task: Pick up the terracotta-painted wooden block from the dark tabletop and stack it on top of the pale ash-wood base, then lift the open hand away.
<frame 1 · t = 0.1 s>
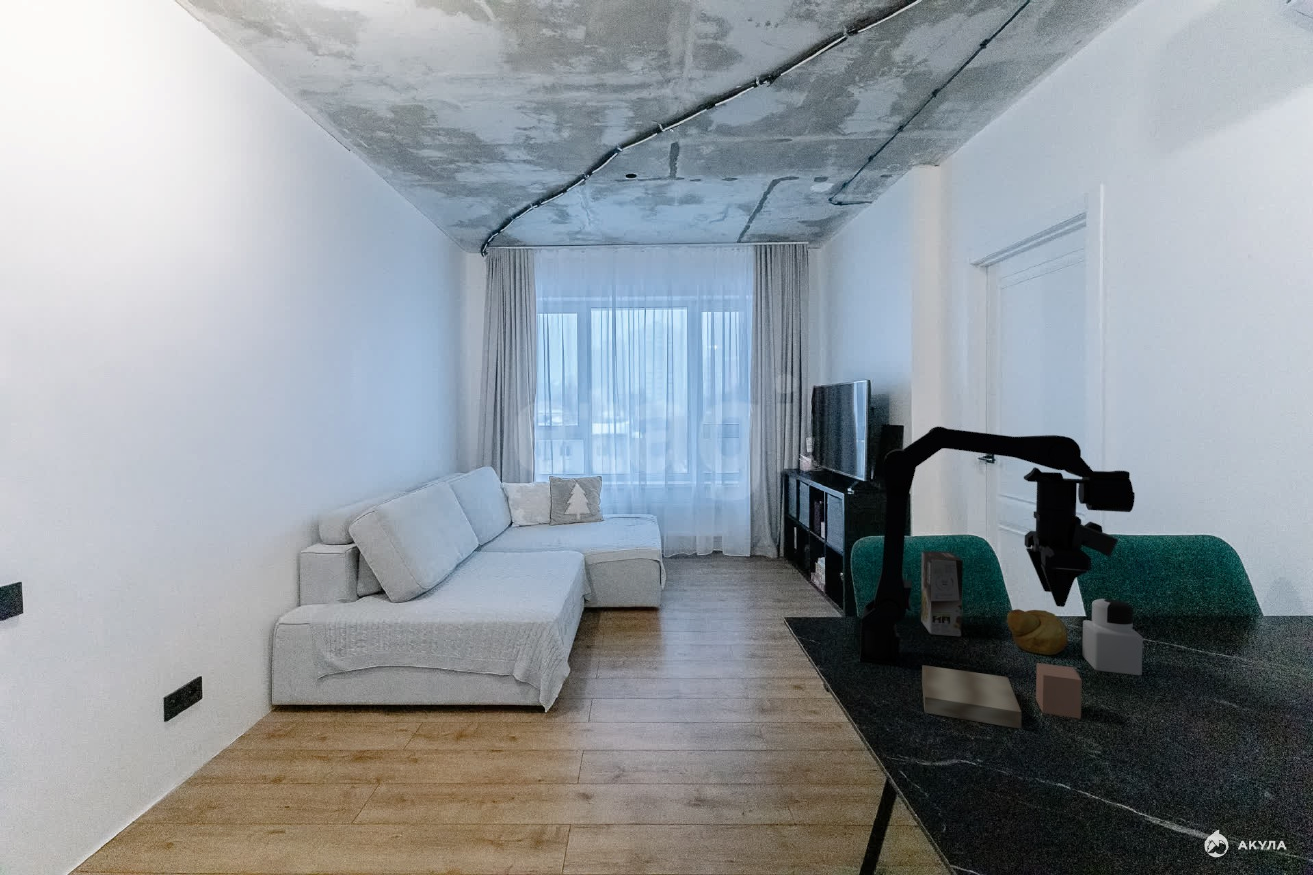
hand: (1053, 598, 105), 15 cm above the table, tool pointing down, fingers open, 9 cm apart
bread roll: (1040, 648, 122), on the table
terracotta block: (1057, 708, 96), on the table
medicine bottle: (1110, 666, 112), on the table
coffee box: (940, 629, 132), on the table
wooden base: (967, 701, 98), on the table
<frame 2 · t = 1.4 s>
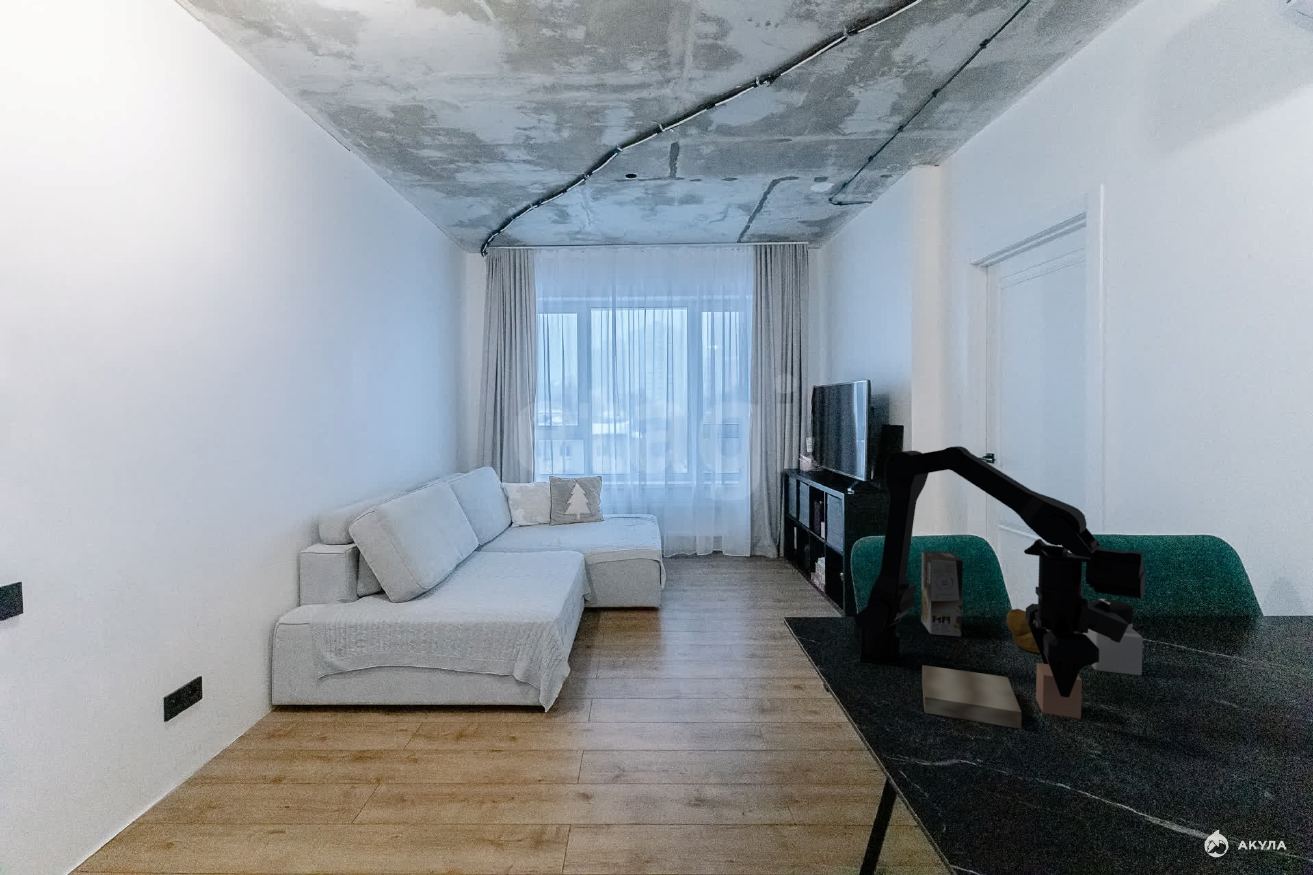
hand: (1057, 684, 96), 4 cm above the table, tool pointing down, fingers open, 9 cm apart
nothing on the table moved.
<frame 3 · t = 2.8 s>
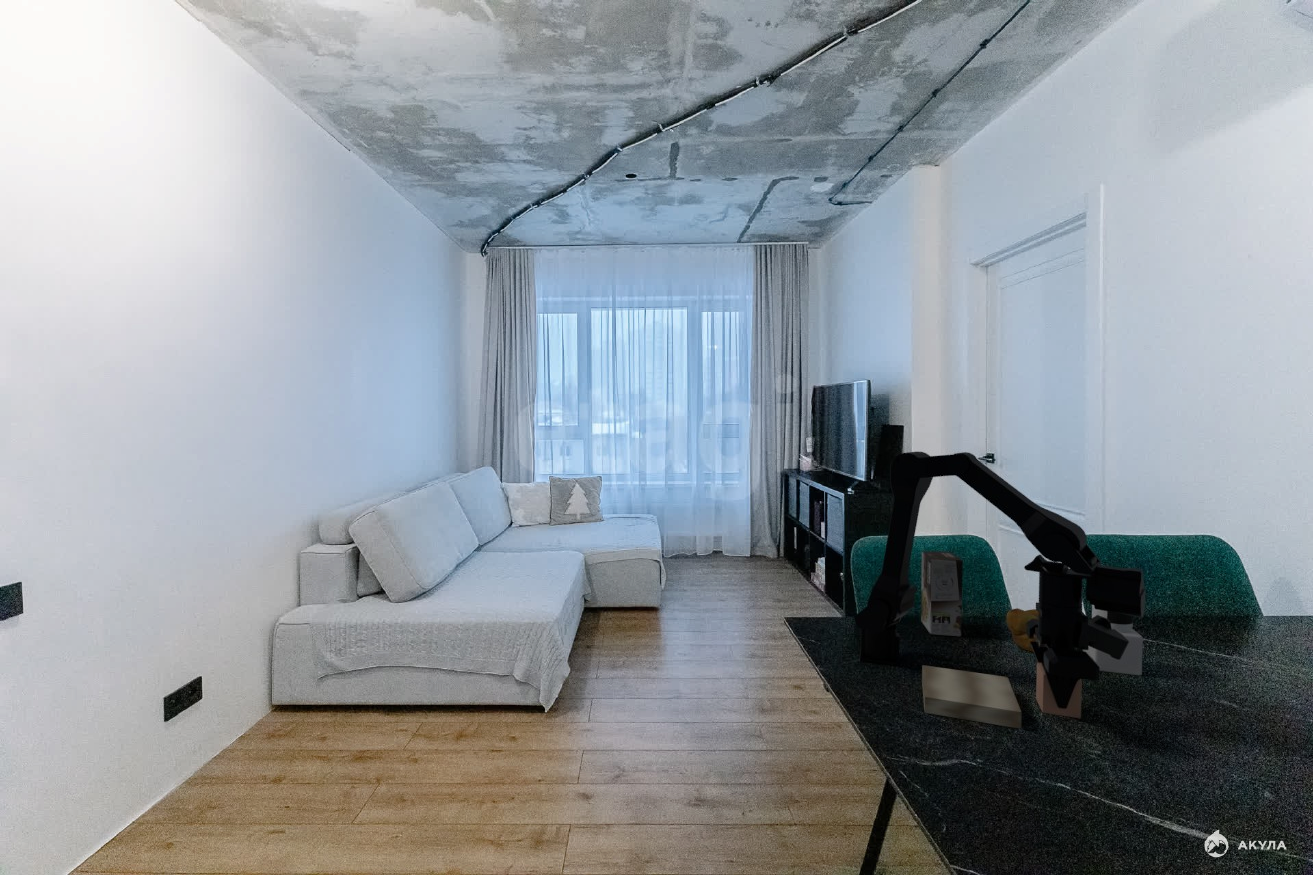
hand: (1057, 700, 96), 1 cm above the table, tool pointing down, fingers closed on terracotta block, 5 cm apart
terracotta block: (1057, 708, 96), on the table, touching gripper
everything else where it was.
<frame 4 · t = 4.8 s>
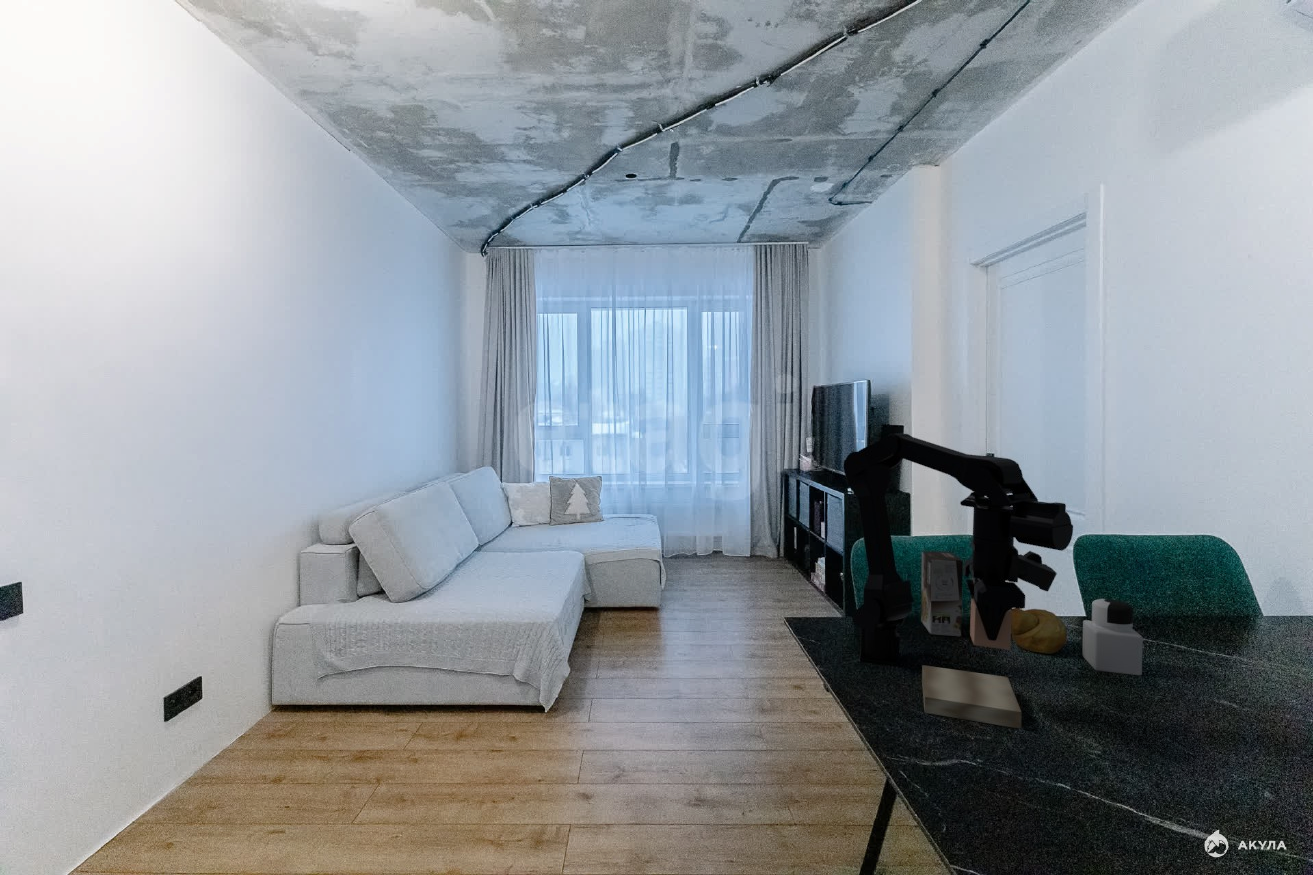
hand: (989, 634, 97), 11 cm above the table, tool pointing down, fingers closed on terracotta block, 5 cm apart
terracotta block: (989, 641, 97), point 10 cm above the table, touching gripper
everything else where it was.
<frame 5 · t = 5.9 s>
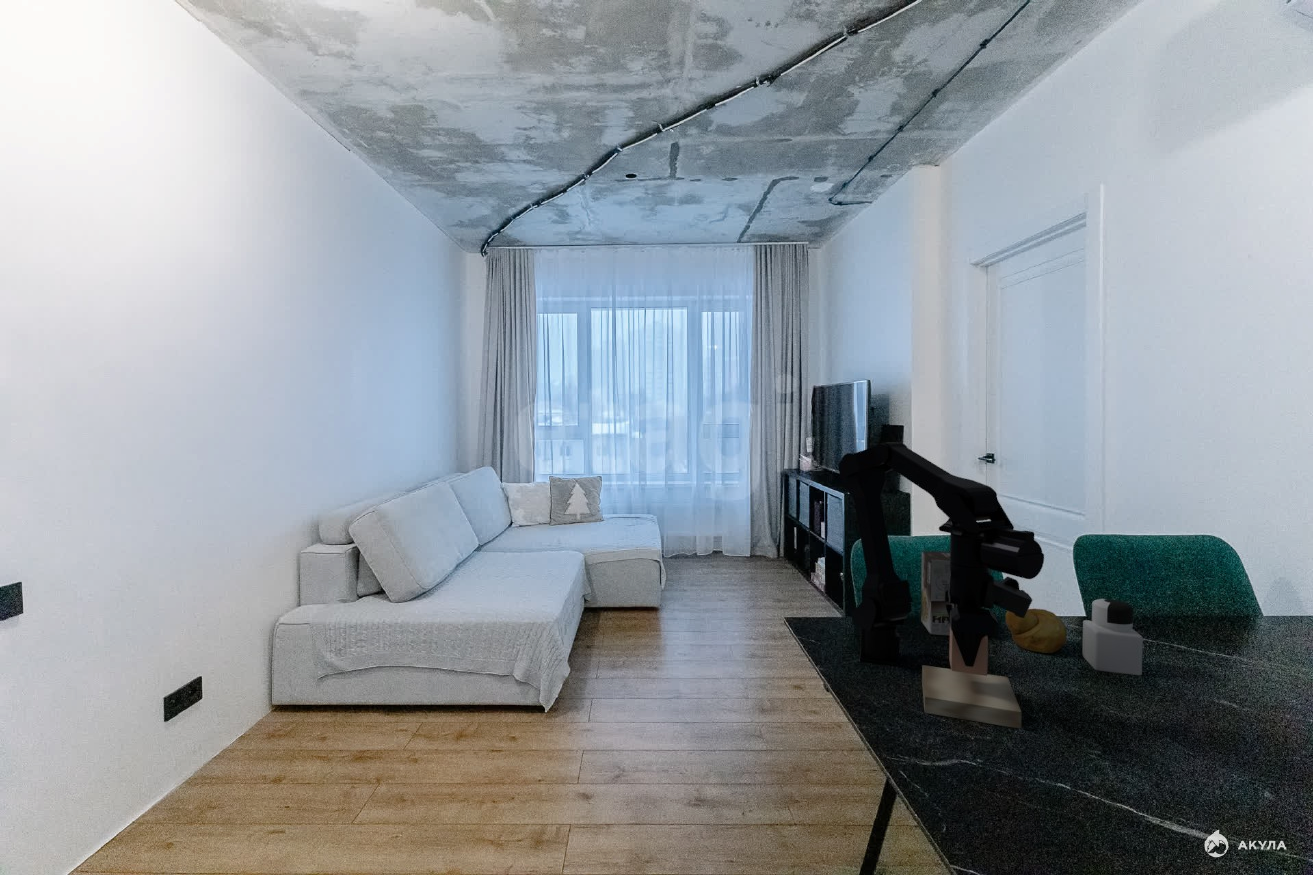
hand: (967, 659, 98), 7 cm above the table, tool pointing down, fingers closed on terracotta block, 5 cm apart
terracotta block: (967, 667, 98), point 6 cm above the table, touching gripper
everything else where it was.
when the fingers open (5 cm above the table, at t = 7.0 s): terracotta block drops 1 cm, resting on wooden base.
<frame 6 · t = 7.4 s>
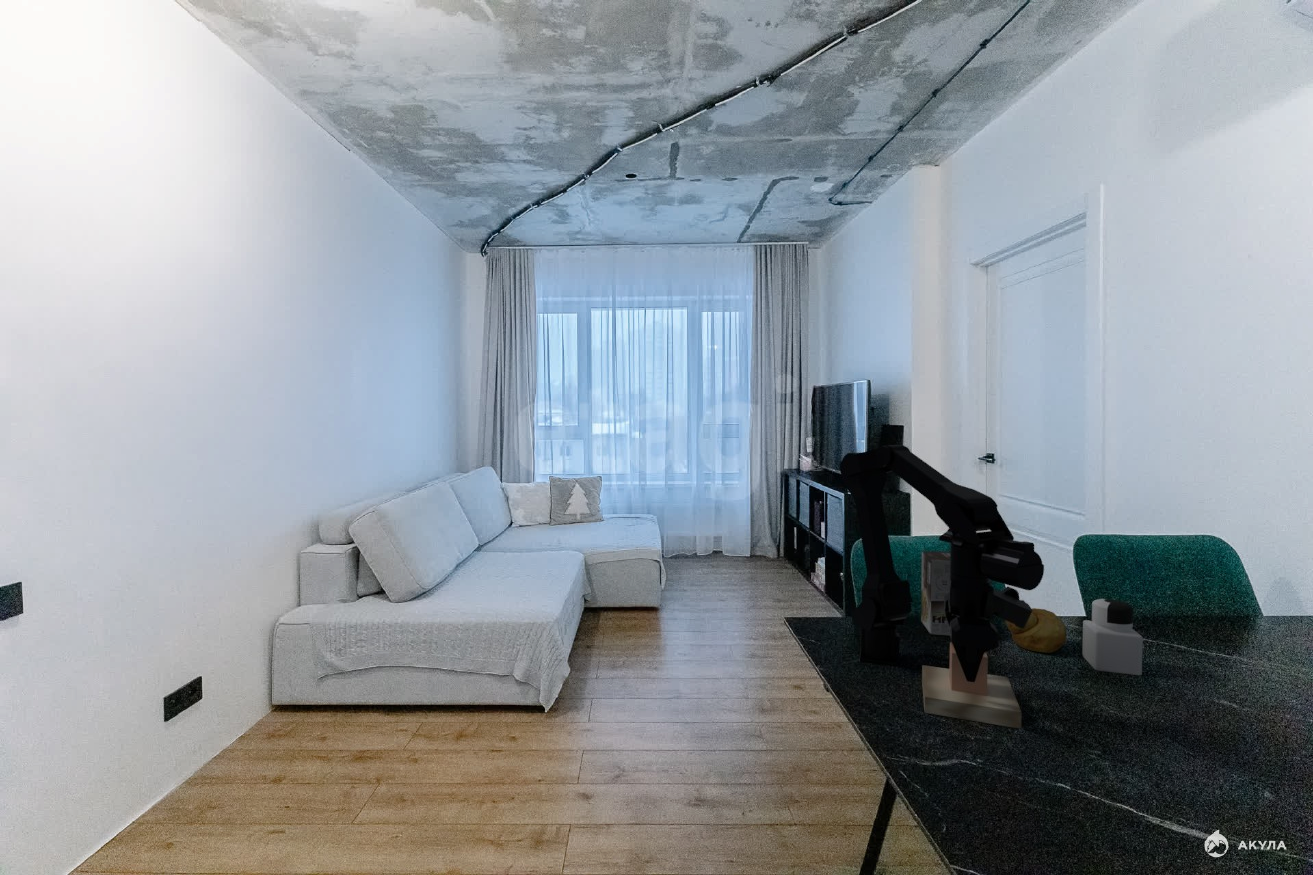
hand: (967, 669, 98), 5 cm above the table, tool pointing down, fingers open, 9 cm apart
terracotta block: (967, 686, 98), point 2 cm above the table, touching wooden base
everything else where it was.
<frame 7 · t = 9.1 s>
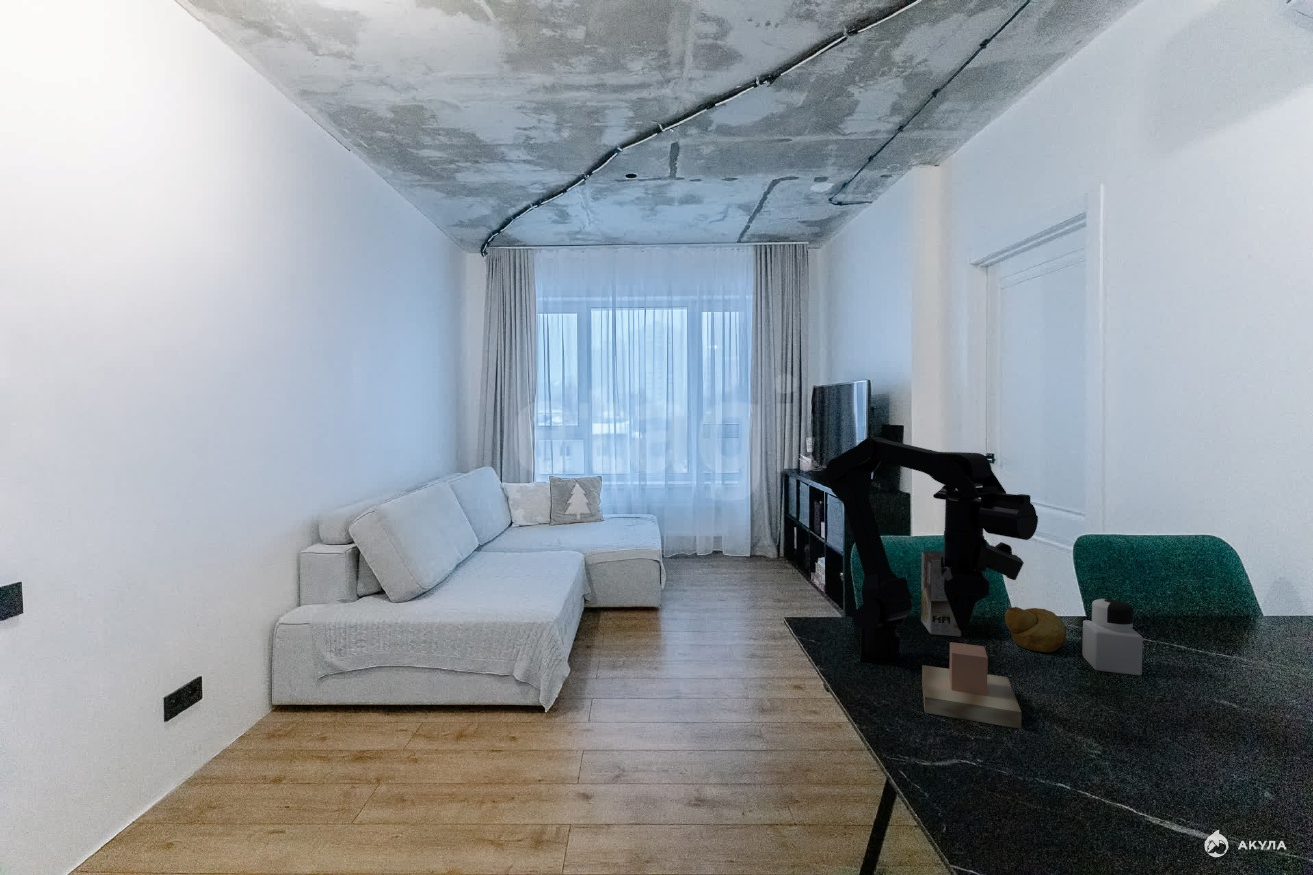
hand: (960, 621, 101), 12 cm above the table, tool pointing down, fingers open, 9 cm apart
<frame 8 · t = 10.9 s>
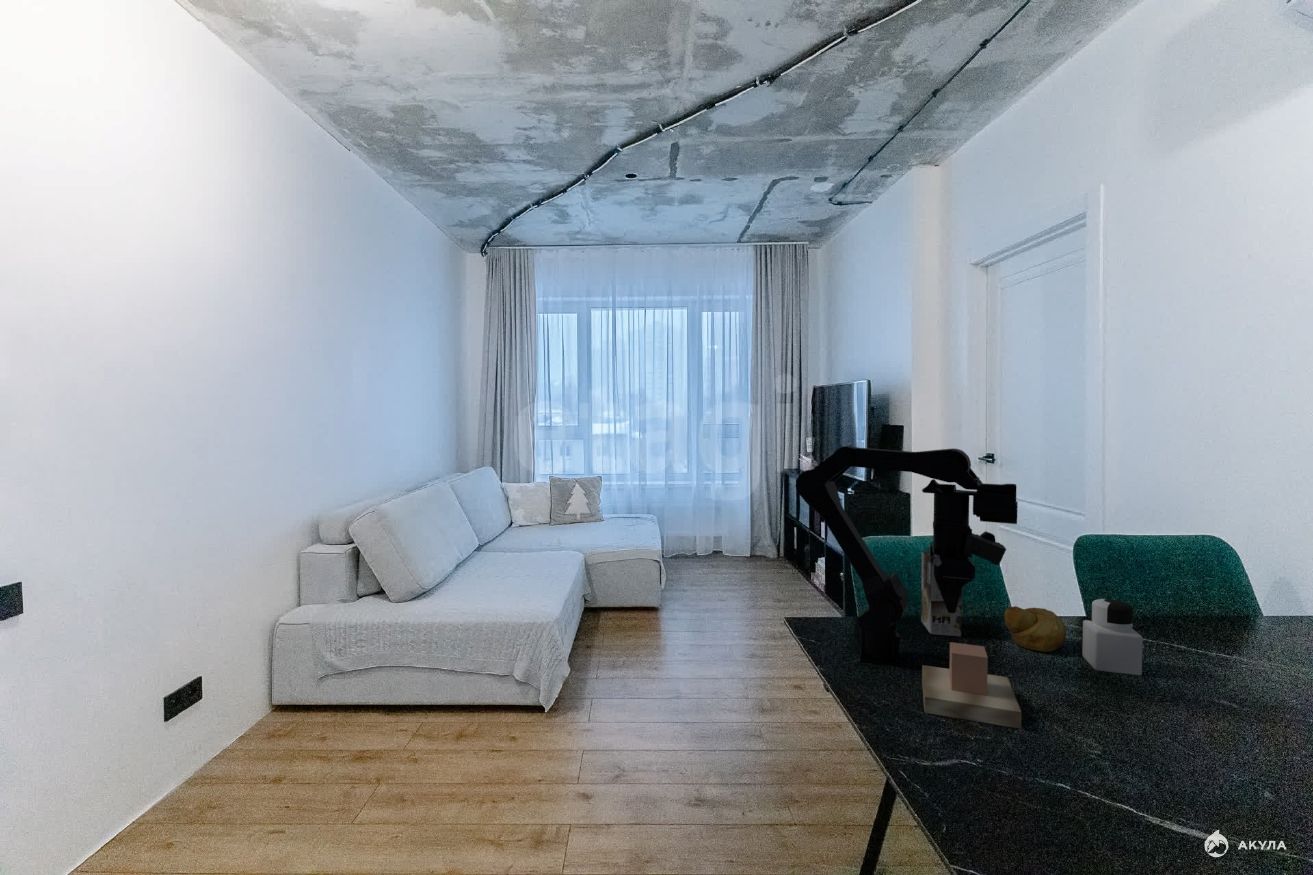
hand: (949, 605, 109), 12 cm above the table, tool pointing down, fingers open, 9 cm apart
at the end: terracotta block inside the target area on the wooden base (0.0 cm from its centre), point 2.5 cm above the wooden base's base; terracotta block tilted 0°; terracotta block touching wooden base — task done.
